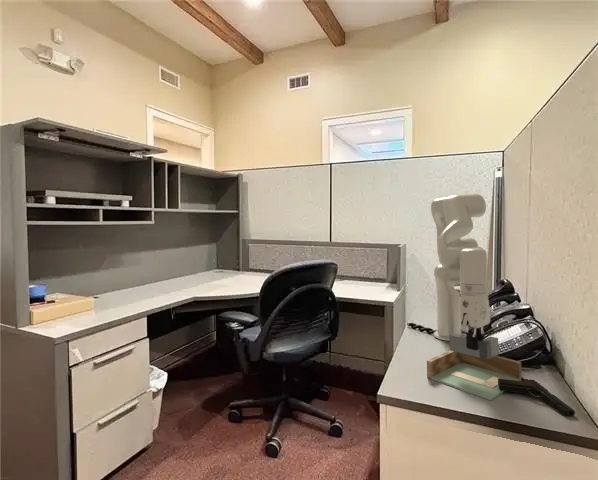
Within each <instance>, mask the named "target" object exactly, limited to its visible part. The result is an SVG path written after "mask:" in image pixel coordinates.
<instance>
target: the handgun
mask: <svg viewBox="0 0 598 480" xmlns="http://www.w3.org/2000/svg"><path fill="white" fill-rule="evenodd" d="M498 386H499V389H500V390H502V391H504V392H512V393H517V394H518V393H519V394H526V395H529V396H530V397H532V398H533V399H537V400H543V402H546V403H547V404H549V405H550V406H552V407H553V408H555V410H558V411H559V412H560V413H561V414H563V415H564V416H568V417H574V416H575V415H576V411H575V410H574V408H572V407H571V406H569V405H568V404H567V403H565V402H564V401H563V400H561V399H560V398H559V397H557V396H556V395H555V394H553V393H551V392H550V391H549V390H548V389H547V388H546V387H544V385H542V384H541V383H540V382H538V381H537V380H535V379H529V378H524V377H523V376H522V377H521V380H520V381H516V380H507V379H498Z"/></svg>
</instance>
